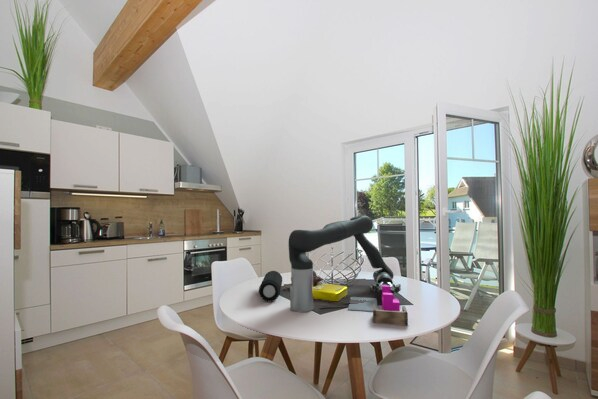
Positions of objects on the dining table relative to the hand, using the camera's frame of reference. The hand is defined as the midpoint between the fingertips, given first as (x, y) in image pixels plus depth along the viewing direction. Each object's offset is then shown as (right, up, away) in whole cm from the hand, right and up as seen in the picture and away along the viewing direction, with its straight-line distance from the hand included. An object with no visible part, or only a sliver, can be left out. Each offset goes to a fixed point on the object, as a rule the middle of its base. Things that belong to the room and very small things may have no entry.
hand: (386, 292), depth 126 cm
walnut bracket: (-4, -6, -16) cm, 17 cm away
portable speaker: (-51, -8, +19) cm, 56 cm away
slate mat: (-10, -6, +3) cm, 12 cm away
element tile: (-23, -8, +16) cm, 30 cm away
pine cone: (-33, -8, +32) cm, 47 cm away
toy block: (+1, -6, -2) cm, 7 cm away
